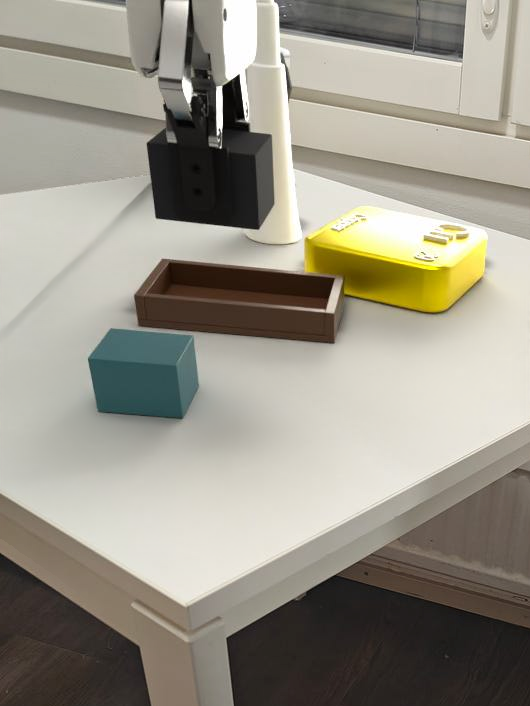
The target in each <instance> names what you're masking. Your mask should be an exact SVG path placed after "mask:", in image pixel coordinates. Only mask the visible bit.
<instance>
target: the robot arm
mask: <svg viewBox="0 0 530 706" xmlns="http://www.w3.org/2000/svg"><path fill="white" fill-rule="evenodd" d="M125 8H126V22H127V34H128V43H129V51H130V60H131V64H132V66H133V68H134V69H135V71H136V72H137V73H138V74H139V75H140V76H141V77H142V78H146V79H152V78H154V77H156V76H157V84H158V89H159V91H160V92H159V93H160V94H161V96H162V98H163V103H162V107H163V108H162V109H163V112H164V116H165V128H166V136H167V141H168V151H169V160H170V169H171V178H172V188H173V197H174V206H175V213H176V216H177V217H178V218H179V219H181V220H188V221H197V222H206V223H215V224H224V225H226V224H229V223H230V222H231V221H232V219H233V203H232V188H231V173H230V159H229V146H222V129H230V130H238V131H247V132H251V129H250V123H245V122H239V121H248V115H249V108H248V99H247V90H246V82H245V72H244V69H246V68H247V67H248V66H249V65H250V64H251V63H252V62H253V60H254V58H255V53H256V0H125ZM192 72H193V76H192V74H191V73H192Z"/></svg>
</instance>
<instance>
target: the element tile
mask: <svg viewBox="0 0 530 706" xmlns="http://www.w3.org/2000/svg"><path fill="white" fill-rule="evenodd" d="M487 246H488V235H487V233H486V232H485V230H484V229H481V228H476V227H473V226H467V225H464V224H460V223H453V222H448V221H444V220H437V219H432V218H428V217H423V216H418V215H413V214H408V213H403V212H398V211H393V210H388V209H384V208H379V207H373V206H366V205H365V206H360V207H357V208H355V209H353V210H351V211H349V212H346V213H345V214H343V215H342V216H340V217H338V218H335V219H334V220H332V221H330V222H328V223H327V224H325V225H324V226H321V227H320V228H318V229H316V230H315V231H312V232H311V233H309V234H307V235H306V236H305V237H304V241H303V249H304V250H303V251H304V252H303V253H304V272H309V273H320V274H330V275H341V276H344V296H349V297H354V298H357V299H358V298H359V299H363V300H367V301H372V302H377V303H381V304H386V305H389V306H395V307H399V308H403V309H409V310H412V311H417V312H422V313H432V314H435V313H441V312H444V311H446V310H448V309H449V308H451V306H453V305H454V304H455V303H456V302H457V301H458V300H459V299H460V298H461V297H462V296H463V295H464V294H466V292H467V291H468V290H470V289H471V288H472V287H473V286H474V285H475V284H476V283H477V282H478V281H479V280H480V279H481V278H482V277H483V276H484V274H485V265H486V256H487Z"/></svg>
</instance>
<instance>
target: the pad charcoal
mask: <svg viewBox="0 0 530 706" xmlns="http://www.w3.org/2000/svg"><path fill="white" fill-rule="evenodd" d="M222 146H229V159H230V173H231V188H232V203H233V219H232V221H231V222H230V223H229V224H226V225H224V224H215V223H206V222H197V221H188V220H181V219H179V218H178V217H177V216H176V213H175V206H174V197H173V188H172V178H171V169H170V160H169V151H168V141H167V136H166V127H165V128H163V129H162V130H161V131H160V132H158V133H157V134H156V135H155V136H153V137H152V138H150V140H148V141H147V142H146V151H147V159H148V167H149V177H150V184H151V192H152V200H153V208H154V217H155V219H156V220H164V221H172V222H173V221H174V222H182V223H191V224H201V225H209V226H219V227H228V228H237V229H245V230H246V229H254V230H259V229H260V227H261V226H262V224H263V222H264V221H265V219H266V217H267V216H268V214H269V213H270V211H271V209H272V208H273V206H274V204H275V201H274V175H273V150H272V135H271V134H264V133H255V132H247V131H238V130H230V129H222Z"/></svg>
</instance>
